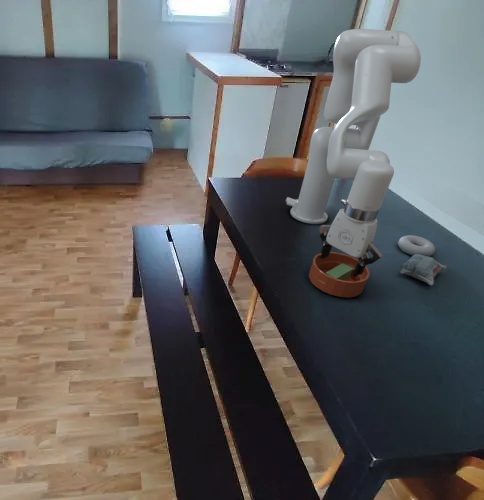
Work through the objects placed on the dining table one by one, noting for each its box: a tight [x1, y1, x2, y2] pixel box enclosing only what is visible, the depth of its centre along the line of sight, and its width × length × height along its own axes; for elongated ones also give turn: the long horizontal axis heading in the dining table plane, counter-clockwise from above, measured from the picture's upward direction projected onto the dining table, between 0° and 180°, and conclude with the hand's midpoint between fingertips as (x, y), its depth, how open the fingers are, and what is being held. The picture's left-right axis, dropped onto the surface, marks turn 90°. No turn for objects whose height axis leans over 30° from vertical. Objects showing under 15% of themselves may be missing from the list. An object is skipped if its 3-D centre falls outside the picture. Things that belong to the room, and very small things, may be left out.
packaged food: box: [399, 254, 448, 286], centre depth 116 cm, size 9×12×5 cm
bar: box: [326, 263, 353, 281], centre depth 111 cm, size 8×3×4 cm, turn 126°
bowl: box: [308, 251, 371, 298], centre depth 111 cm, size 14×14×6 cm
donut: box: [397, 234, 436, 257], centre depth 127 cm, size 10×4×10 cm
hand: (339, 265), depth 110 cm, fingers open, 9 cm apart
